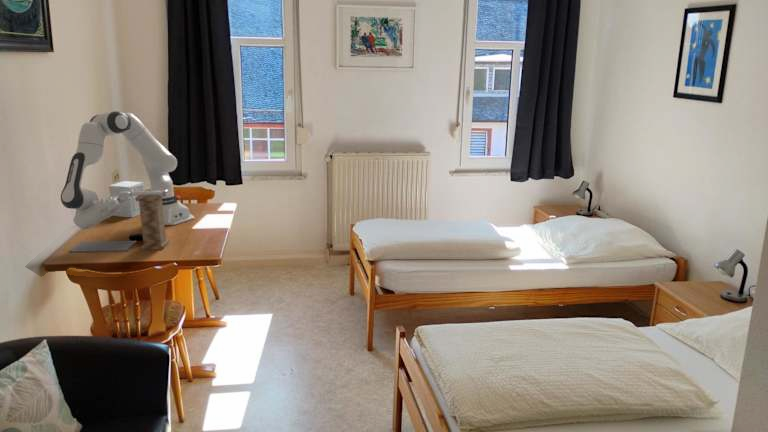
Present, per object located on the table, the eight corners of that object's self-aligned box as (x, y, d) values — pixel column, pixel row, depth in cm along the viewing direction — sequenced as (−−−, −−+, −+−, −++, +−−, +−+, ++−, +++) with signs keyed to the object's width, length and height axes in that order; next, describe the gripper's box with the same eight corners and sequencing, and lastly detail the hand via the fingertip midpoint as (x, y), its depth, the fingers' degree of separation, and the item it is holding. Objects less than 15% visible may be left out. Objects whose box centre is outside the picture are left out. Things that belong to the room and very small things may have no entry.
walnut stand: (141, 249, 286) (135, 197, 279) (147, 242, 296) (142, 192, 289) (163, 249, 287) (157, 197, 280) (169, 242, 296) (164, 192, 289)
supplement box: (147, 211, 351) (143, 181, 346) (132, 217, 338) (128, 187, 334) (127, 210, 354) (123, 180, 349) (111, 216, 342) (108, 185, 337)
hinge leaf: (119, 196, 282) (119, 191, 281) (122, 194, 286) (122, 189, 285) (166, 195, 283) (166, 191, 282) (169, 193, 287) (168, 189, 286)
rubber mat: (69, 252, 282) (69, 251, 282) (81, 242, 296) (81, 241, 295) (126, 251, 284) (126, 250, 284) (136, 241, 297) (136, 240, 297)
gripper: (93, 207, 274) (119, 192, 273) (110, 196, 293) (134, 182, 292) (102, 219, 276) (128, 203, 274) (118, 207, 295) (142, 193, 294)
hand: (131, 192), depth 283 cm, fingers closed on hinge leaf, 4 cm apart
